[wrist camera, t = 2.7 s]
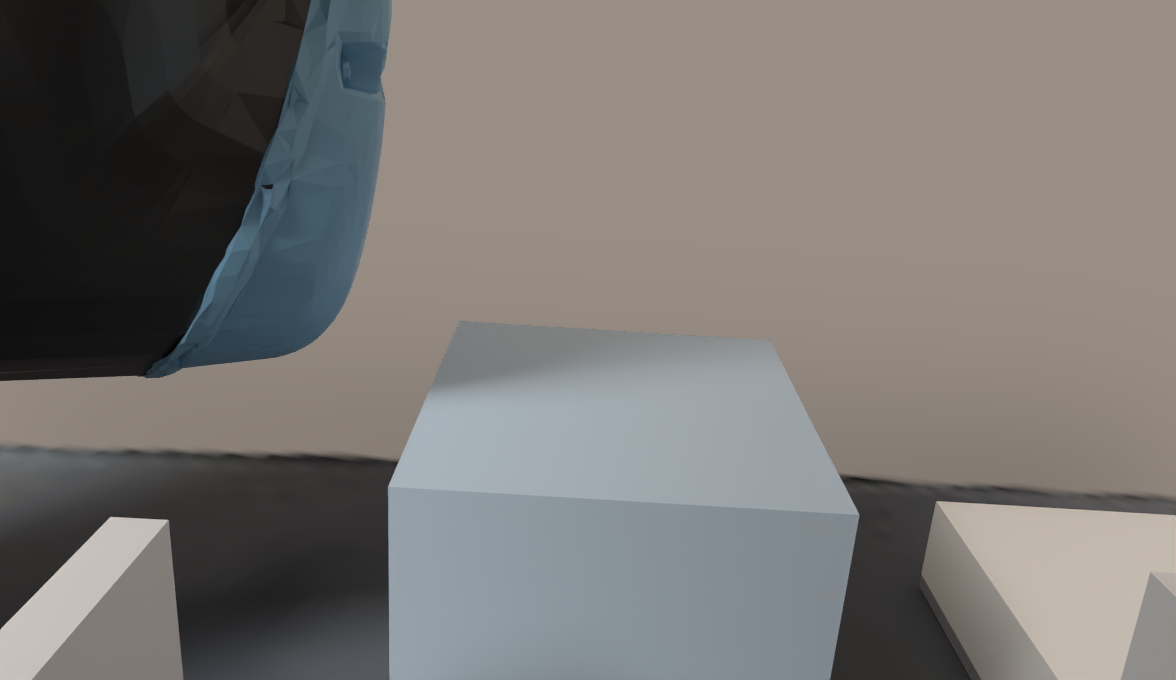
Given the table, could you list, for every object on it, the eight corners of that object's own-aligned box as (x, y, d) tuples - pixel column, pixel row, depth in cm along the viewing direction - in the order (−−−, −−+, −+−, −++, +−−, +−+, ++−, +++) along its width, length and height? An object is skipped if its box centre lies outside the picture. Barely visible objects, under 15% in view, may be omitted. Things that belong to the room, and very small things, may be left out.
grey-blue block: (453, 626, 31) (459, 320, 28) (729, 643, 31) (769, 340, 28) (390, 899, 22) (388, 486, 18) (786, 920, 22) (859, 514, 18)
